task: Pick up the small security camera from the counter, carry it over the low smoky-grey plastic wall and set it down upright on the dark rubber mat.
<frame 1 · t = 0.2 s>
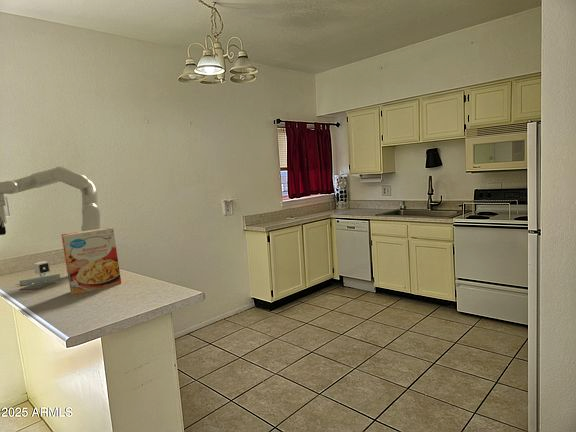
hand: (2, 234, 219), 30 cm above the countertop, tool pointing down, fingers open, 9 cm apart
security camera: (43, 278, 235), on the countertop
low wall: (40, 282, 226), on the countertop
pasta box: (96, 288, 202), on the countertop
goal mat: (37, 286, 216), on the countertop
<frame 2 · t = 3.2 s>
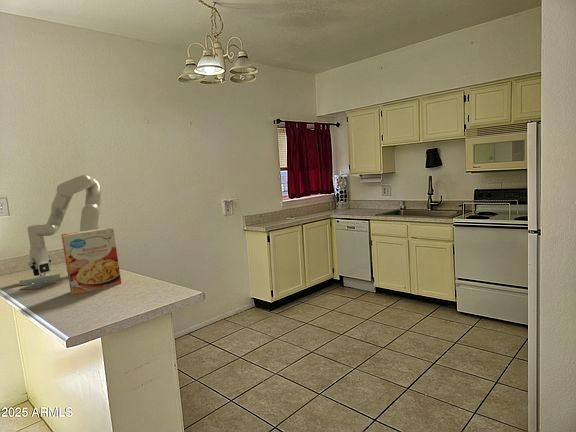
hand: (42, 273, 234), 3 cm above the countertop, tool pointing down, fingers closed on security camera, 8 cm apart
security camera: (43, 278, 235), on the countertop, touching gripper
everything else where it was.
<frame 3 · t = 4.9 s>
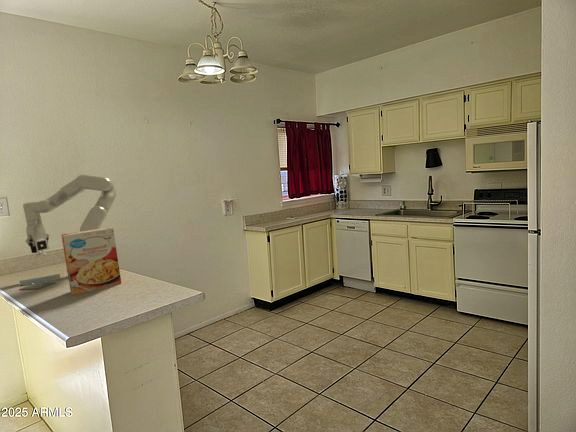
hand: (40, 250, 233), 17 cm above the countertop, tool pointing down, fingers closed on security camera, 8 cm apart
security camera: (42, 256, 234), point 14 cm above the countertop, touching gripper
everything else where it was.
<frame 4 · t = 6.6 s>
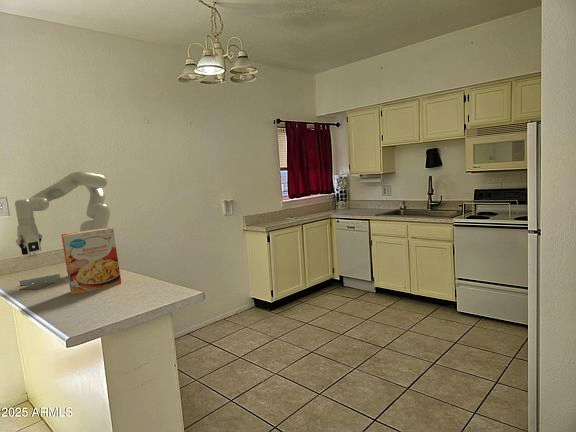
hand: (31, 252, 214), 19 cm above the countertop, tool pointing down, fingers closed on security camera, 8 cm apart
security camera: (33, 258, 215), point 16 cm above the countertop, touching gripper
everything else where it was.
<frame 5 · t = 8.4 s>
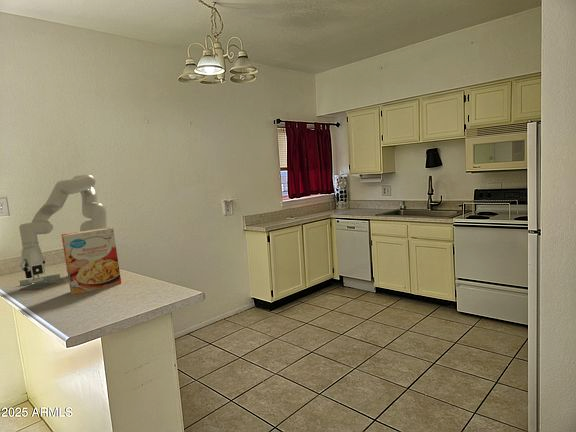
hand: (35, 275, 216), 6 cm above the countertop, tool pointing down, fingers closed on security camera, 8 cm apart
security camera: (37, 281, 216), point 3 cm above the countertop, touching gripper
everything else where it was.
when the fingers open (5 cm above the countertop, at t = 9.7 s): security camera drops 1 cm, resting on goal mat.
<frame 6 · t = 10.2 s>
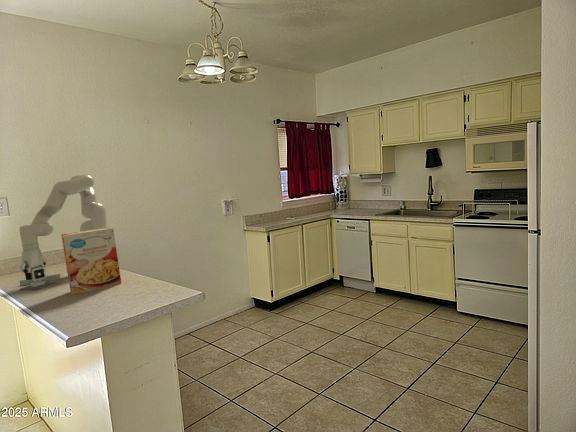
hand: (36, 277, 216), 5 cm above the countertop, tool pointing down, fingers open, 9 cm apart
security camera: (38, 285, 217), resting on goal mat
everything else where it was.
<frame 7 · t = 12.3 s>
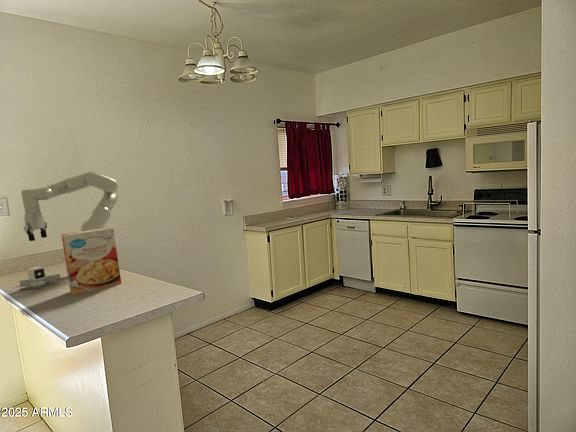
hand: (38, 239, 227), 25 cm above the countertop, tool pointing down, fingers open, 9 cm apart
nothing on the countertop moved.
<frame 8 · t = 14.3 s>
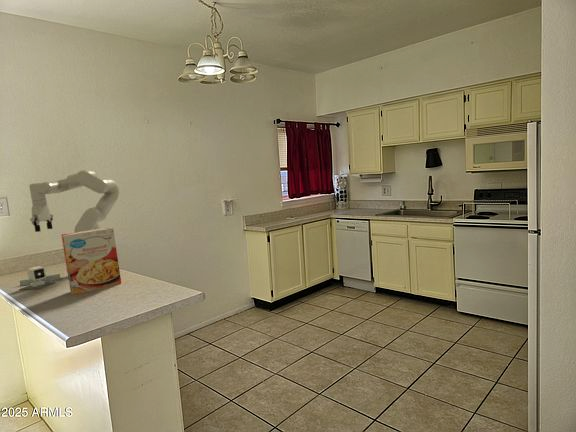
hand: (44, 230, 242), 28 cm above the countertop, tool pointing down, fingers open, 9 cm apart
nothing on the countertop moved.
at the end: security camera inside the target area on the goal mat (0.5 cm from its centre), point 0.4 cm above the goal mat's base; security camera tilted 0°; the gripper is holding nothing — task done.
